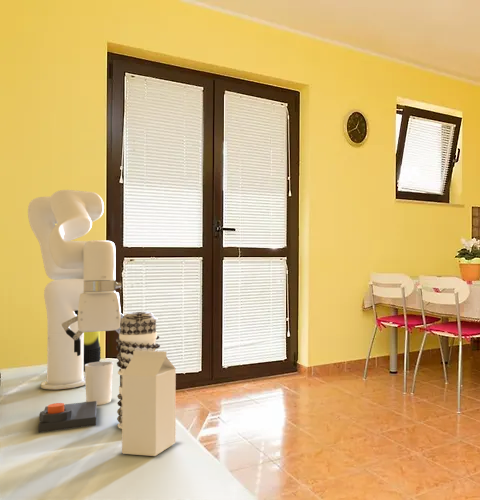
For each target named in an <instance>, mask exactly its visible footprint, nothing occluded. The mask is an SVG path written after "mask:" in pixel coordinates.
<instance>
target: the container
mask: <svg viewBox="0 0 480 500" xmlns="http://www.w3.org/2000/svg"><path fill="white" fill-rule="evenodd" d="M74 312H75V314H76V315H78V310H76V311H74ZM101 347H102V346H101V331H97V332H84V371H83V372H85V364H88V363H93V362H101V357H102V356H101V353H102V352H101V350H102V349H101Z"/></svg>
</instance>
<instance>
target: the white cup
mask: <svg viewBox="0 0 480 500" xmlns="http://www.w3.org/2000/svg"><path fill="white" fill-rule="evenodd" d="M113 368H114V362H113V361H104V360H103V361H100V362H93V363H88V364H85V371H84V377H85V382H86V385H85V402H92V401H97V403H96V406H100V405H101V406H102V405H105V404H109V403H111V402H112V392H113V391H112V389H113V372H114V371H113V370H114V369H113Z"/></svg>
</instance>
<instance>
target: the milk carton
mask: <svg viewBox="0 0 480 500" xmlns="http://www.w3.org/2000/svg"><path fill="white" fill-rule="evenodd" d="M176 368H177V367H175V365H173V363H172V362H171V361H170V359H169V358H168V357H167V351H164V350H163V351H161V350H156V351H133V357H132V359H131V361H130V362H129V364H128V366H127V368H126V369H125V371H124V373H123V374H122V429H121V454H123V455H136V456H150V457H157V456H158V455H159V454H161V453H163V452H164V451H165V450H167V449H169V448H170V447H172V446H173V445H175V444H176V441H177V438H176V434H177V433H176V431H177V429H176V426H177V423H176V421H177V419H176V418H177V417H176V416H177V415H176V412H177V410H176V409H177V408H176V405H177V404H176V402H177V401H176V400H177V399H176V398H177V395H176V394H177V393H176V392H177V389H176V387H177V385H176V384H177V383H176V381H177V379H176V378H177V375H176V374H177V371H176Z"/></svg>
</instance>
